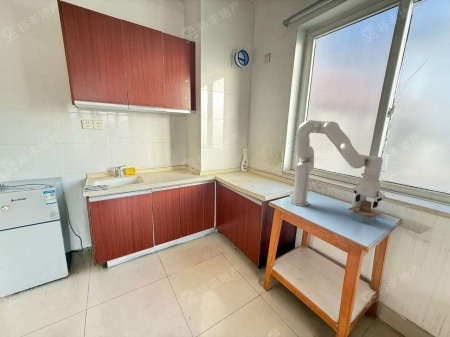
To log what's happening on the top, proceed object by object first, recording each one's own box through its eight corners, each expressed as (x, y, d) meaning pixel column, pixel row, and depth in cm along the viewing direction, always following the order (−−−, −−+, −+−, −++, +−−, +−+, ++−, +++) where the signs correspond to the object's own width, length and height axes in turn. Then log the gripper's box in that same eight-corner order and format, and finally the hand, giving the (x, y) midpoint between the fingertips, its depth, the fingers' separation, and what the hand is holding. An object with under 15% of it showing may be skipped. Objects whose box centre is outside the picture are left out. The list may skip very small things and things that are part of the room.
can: (348, 209, 131) (351, 192, 129) (354, 207, 135) (357, 191, 132) (360, 213, 125) (363, 196, 122) (366, 211, 128) (369, 194, 126)
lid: (348, 209, 119) (350, 199, 117) (360, 206, 124) (361, 196, 122) (369, 217, 108) (371, 206, 107) (381, 214, 113) (383, 203, 111)
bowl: (348, 217, 119) (349, 209, 118) (359, 214, 124) (360, 207, 123) (367, 225, 110) (368, 217, 109) (378, 221, 114) (379, 214, 113)
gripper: (352, 174, 117) (347, 200, 121) (384, 181, 102) (378, 211, 106) (359, 173, 120) (355, 198, 124) (392, 180, 105) (385, 208, 109)
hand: (365, 204), depth 115 cm, fingers open, 9 cm apart
